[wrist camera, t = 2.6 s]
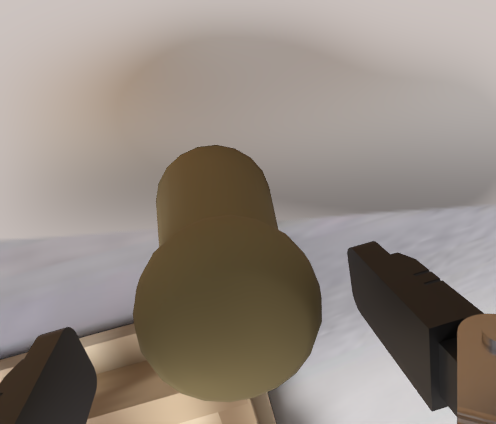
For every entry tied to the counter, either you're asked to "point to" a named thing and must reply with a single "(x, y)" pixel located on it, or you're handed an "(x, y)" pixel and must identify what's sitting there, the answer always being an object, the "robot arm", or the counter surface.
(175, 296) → the olive pepper mill
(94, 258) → the counter surface
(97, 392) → the cradle
